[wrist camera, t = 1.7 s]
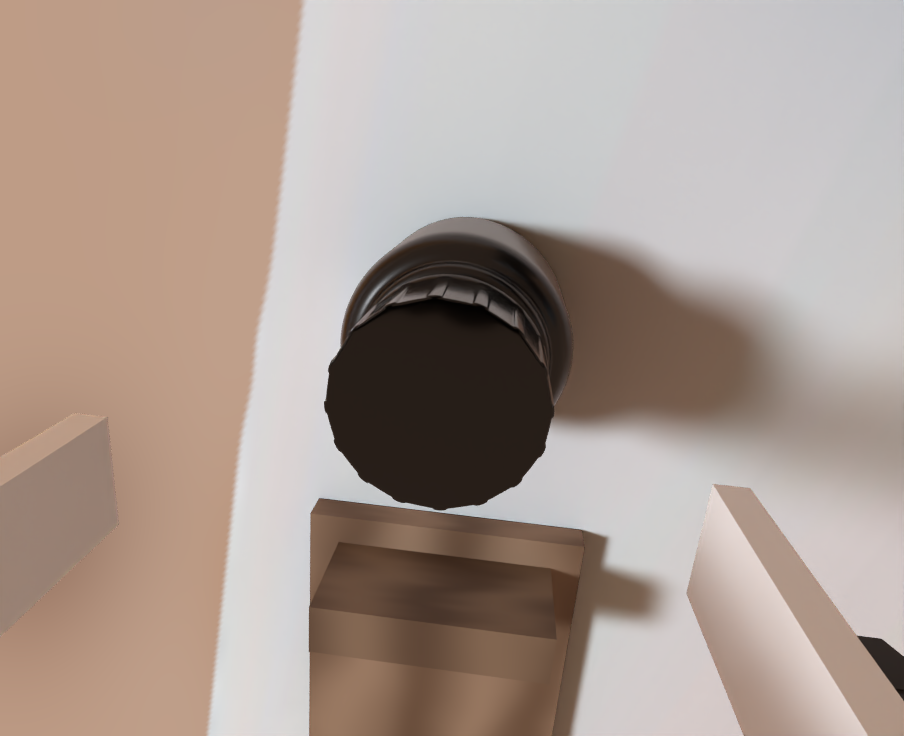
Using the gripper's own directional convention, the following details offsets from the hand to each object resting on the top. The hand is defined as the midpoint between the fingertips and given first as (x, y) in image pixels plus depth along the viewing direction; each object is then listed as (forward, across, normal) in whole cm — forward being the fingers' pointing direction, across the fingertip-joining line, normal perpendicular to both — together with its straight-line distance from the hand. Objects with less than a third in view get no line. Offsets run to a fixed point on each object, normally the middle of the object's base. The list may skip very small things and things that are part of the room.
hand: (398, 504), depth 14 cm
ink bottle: (+17, 0, 0) cm, 17 cm away
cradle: (+17, 0, -22) cm, 28 cm away
